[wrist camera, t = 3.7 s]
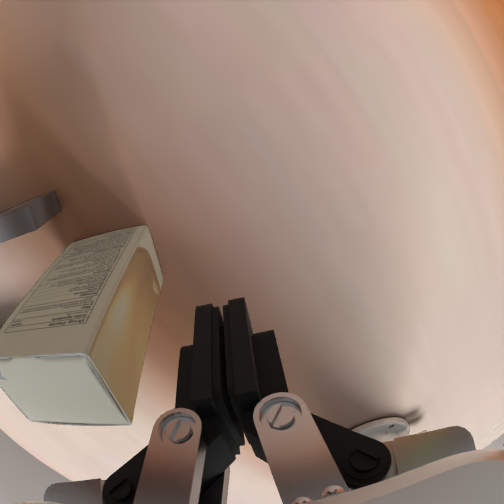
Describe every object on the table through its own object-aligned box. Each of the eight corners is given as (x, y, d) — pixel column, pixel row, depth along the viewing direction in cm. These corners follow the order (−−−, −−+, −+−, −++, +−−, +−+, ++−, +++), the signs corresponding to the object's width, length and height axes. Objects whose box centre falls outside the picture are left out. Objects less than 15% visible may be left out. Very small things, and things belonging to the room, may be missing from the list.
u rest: (54, 190, 18) (28, 206, 15) (113, 332, 23) (102, 362, 20) (-59, 242, 18) (-81, 258, 15) (-6, 345, 23) (-21, 366, 20)
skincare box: (91, 292, 21) (25, 423, 10) (70, 240, 19) (-27, 358, 8) (169, 279, 21) (135, 431, 10) (152, 221, 20) (84, 356, 9)
